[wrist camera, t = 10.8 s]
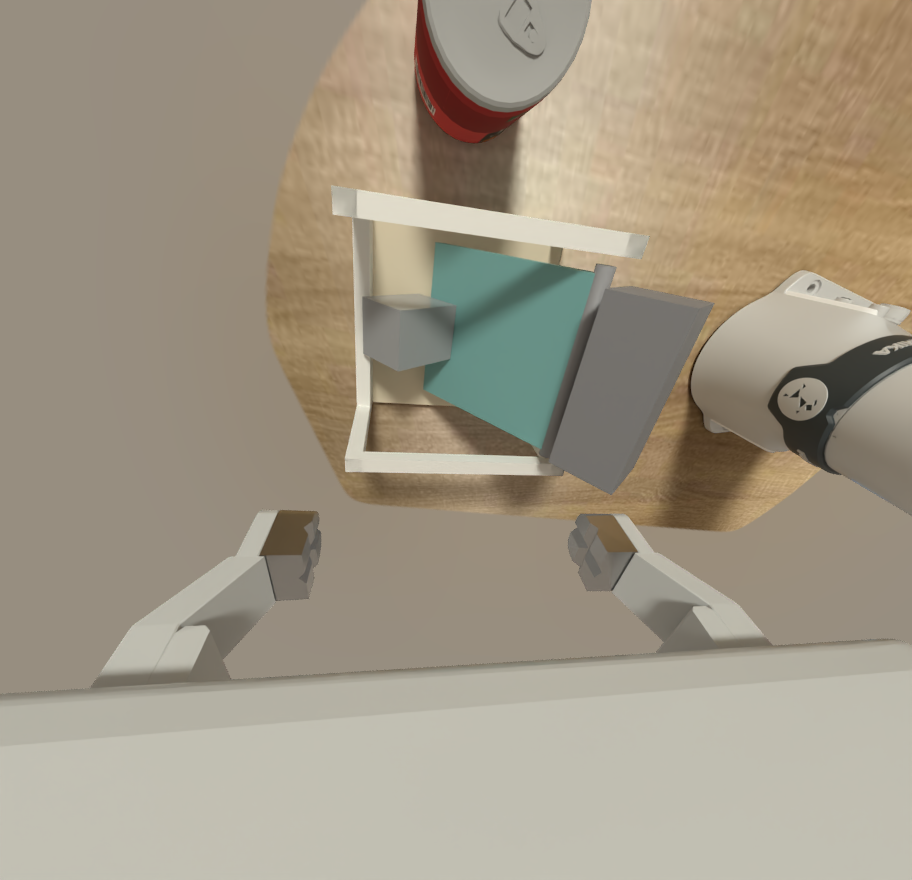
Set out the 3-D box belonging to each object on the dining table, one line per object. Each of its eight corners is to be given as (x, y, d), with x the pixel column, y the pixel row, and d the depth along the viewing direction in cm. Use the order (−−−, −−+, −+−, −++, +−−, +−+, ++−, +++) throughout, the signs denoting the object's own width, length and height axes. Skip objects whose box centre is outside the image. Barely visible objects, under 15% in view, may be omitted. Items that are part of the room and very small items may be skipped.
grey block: (456, 305, 29) (400, 310, 25) (450, 358, 31) (398, 371, 27) (419, 293, 31) (362, 296, 27) (415, 344, 34) (363, 353, 30)
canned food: (492, 167, 28) (538, 143, 18) (396, 104, 25) (394, 40, 16) (544, 42, 24) (632, -63, 15) (440, -47, 22) (470, -239, 12)
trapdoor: (723, 284, 20) (710, 286, 17) (628, 478, 27) (606, 506, 24) (459, 237, 30) (418, 233, 27) (442, 387, 37) (408, 398, 34)
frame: (565, 228, 31) (649, 236, 20) (520, 407, 40) (562, 475, 29) (357, 196, 27) (331, 185, 17) (361, 398, 37) (345, 471, 26)
